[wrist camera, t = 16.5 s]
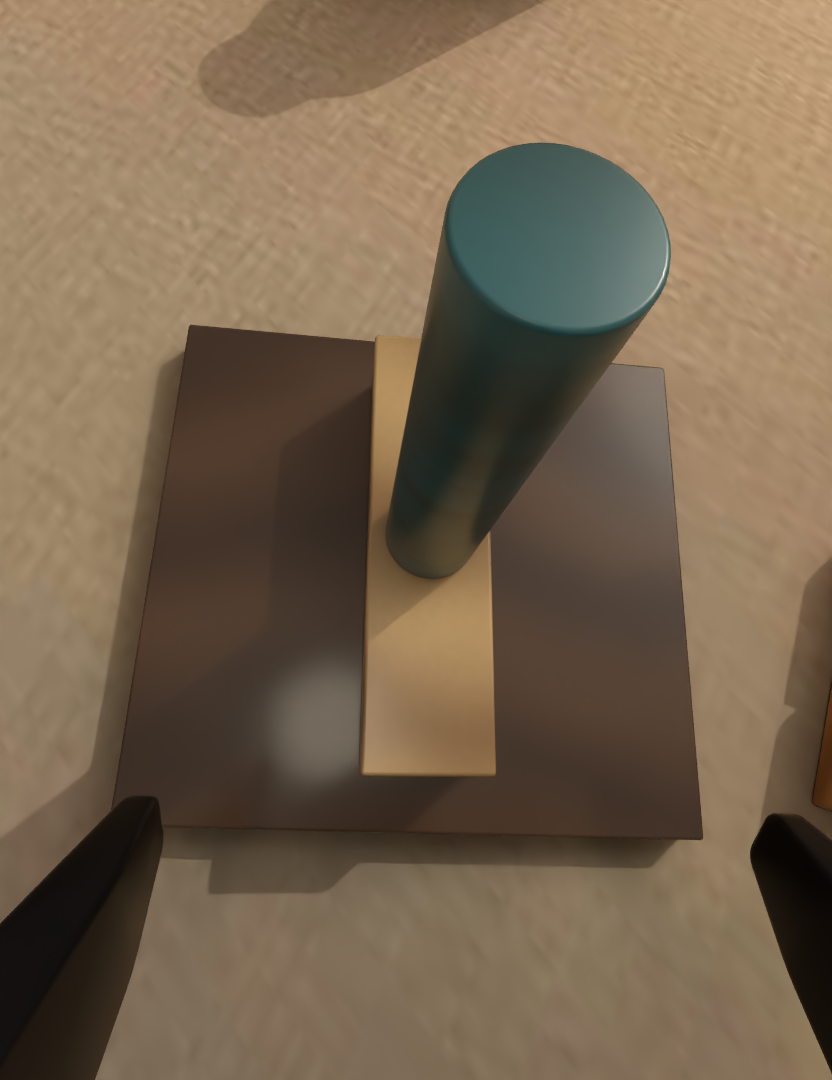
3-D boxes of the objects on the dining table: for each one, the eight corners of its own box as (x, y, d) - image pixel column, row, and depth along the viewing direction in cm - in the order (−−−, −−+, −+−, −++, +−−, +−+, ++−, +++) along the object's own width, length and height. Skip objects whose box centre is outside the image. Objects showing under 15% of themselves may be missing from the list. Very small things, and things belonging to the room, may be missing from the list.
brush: (474, 769, 16) (807, 881, 5) (358, 769, 16) (387, 887, 4) (469, 390, 20) (657, -134, 8) (371, 384, 19) (409, -171, 7)
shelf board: (685, 834, 18) (704, 840, 17) (121, 820, 16) (107, 826, 15) (650, 383, 22) (664, 367, 21) (196, 342, 20) (188, 323, 19)
